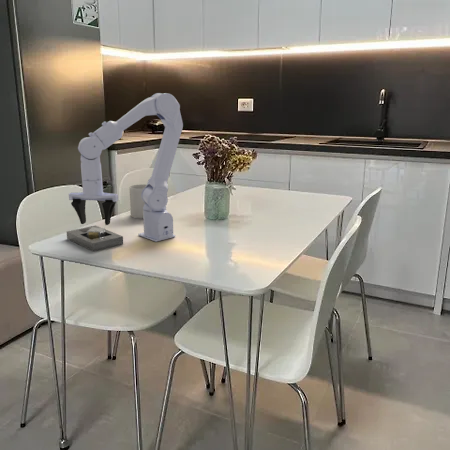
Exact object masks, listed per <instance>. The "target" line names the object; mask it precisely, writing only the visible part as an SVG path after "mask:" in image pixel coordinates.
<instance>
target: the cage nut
mask: <svg viewBox="0 0 450 450" xmlns="http://www.w3.org/2000/svg"><path fill="white" fill-rule="evenodd" d="M105 229H106V228H105V227H101V228H95V227H92V228H91V229H89V230H88V231H87V236H88V238H89V239H91V240H92V239H96V238H101V237H105Z"/></svg>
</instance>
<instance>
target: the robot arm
mask: <svg viewBox="0 0 450 450" xmlns="http://www.w3.org/2000/svg"><path fill="white" fill-rule="evenodd" d="M180 109H181V104H180V103H179V102H178V100H177V99H176V97H175V96H174V95H173V94H171V93H167V92H165V93H161V92H156V93H154V94H153V95H151V96H150V97H149V96H148V97H147V98H145V99H144V100H142V101H141V102H140V103H138V104H137V105H135V106H134V107H133V108H132V109H130V110H129V111H127V113H126V114H124V115H122V116H121V117H120V118H119V119H117V120H116V121H113V120H109V121H103V122H102V123H101V126H100V127H99V128H98V129H96V130H95V131H93V132H89V133H88V134H87V135H88V137H83V138H82V139H80V141H79V143H78V146H77V150H78V153H80V158H79V159H80V170H81V171H80V172H81V173H80V174H81V185H82V192H80V191H79V192H69V193H68V200H69V201H71V203H70V204H71V206H72V208H73V209H74V211H75V213H76V214H77V216H78V219H79V222H80V225H84V224H85V223H87V217H86V216H87V215H86V202H87V201H102V203H101V205H102V209H103V214H104V215H103V216H104V224H105V226H109V225H110V224H111V218H112V214H113V210H114V207H115V206H116V203H117V202H118V201H119V194H118V193H109V192H104V185H103V174H102V163H101V154H102V152H103V151H104V150H106V149H108V148H109V147H110V146H112V145H113V144H115V143H117V142H118V141H119V140H120V139H121V138H123V132H124V131H126V130H127V129H128V128H130V127H131V126H132V125H133V124H135V123H137V122H138V121H140V120H141V119H142V118H144V117H147V116H157V117H158V118H159V119H160V121H161V123H162V124H163V126H164V130H163V133H162V138H161V141H160V145H159V148H158V152H157V156H156V158H155V161H154V166H153V170H152V172H151V176H150V178H149V179H148V180H147V182H146V184H145V185H146V187H145V188H144V189H143V190H142V193H141V197H142V200H143V201H144V202H145V205H144V207H143V218H142V219H143V232H140V233H138V236H139V237H142V238H145V239H148V240H151V241H153V242H160V241H163V240H167V239H168V240H169V239H171V238H176V234H174V218H173V216H172V214H171V213H170V212H169V211H168V210H167V205H168V202H169V198H168V190H169V185H168V180H169V177H170V173H171V171H172V166H173V163H174V160H175V155H176V152H177V149H178V145H179V142H180V138H181V134H182V131H183V129H184V128H183V127H184V122H183V118H182V115H181V110H180Z"/></svg>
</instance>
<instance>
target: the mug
mask: <svg viewBox="0 0 450 450" xmlns="http://www.w3.org/2000/svg"><path fill="white" fill-rule="evenodd" d="M146 185H147V184H134V185H133V184H132V185H130V186H129V203H130V204H129V205H130V207H129V209H130V216H131V218H134V219H143V207H144V205H145V202H144V201H143V200H142V197H141V193H142V190H143V189H144V188H145V187H146Z"/></svg>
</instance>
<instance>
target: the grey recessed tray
mask: <svg viewBox="0 0 450 450" xmlns="http://www.w3.org/2000/svg"><path fill="white" fill-rule="evenodd" d="M92 227H95V228H102V227H100V226H98V225H92V226H86V227H82V228H77V229H72V230H67V231H66V239H67V240H68V241H70V242H73V243H75V244H77V245H79V246H81V247H82V248H83V247H84V248H86V249H87V250H89V251H92V252H97V251H100V250H105V249H108V248H113V247H116V246H120V245H124V236H123V235H121V234H117V233H115V232H113V231H111V230H108V229H106V228H105V237H101V238H96V239H92V240H91V239H89V238H88V236H87V231H88V230H89V229H91V228H92Z"/></svg>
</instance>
